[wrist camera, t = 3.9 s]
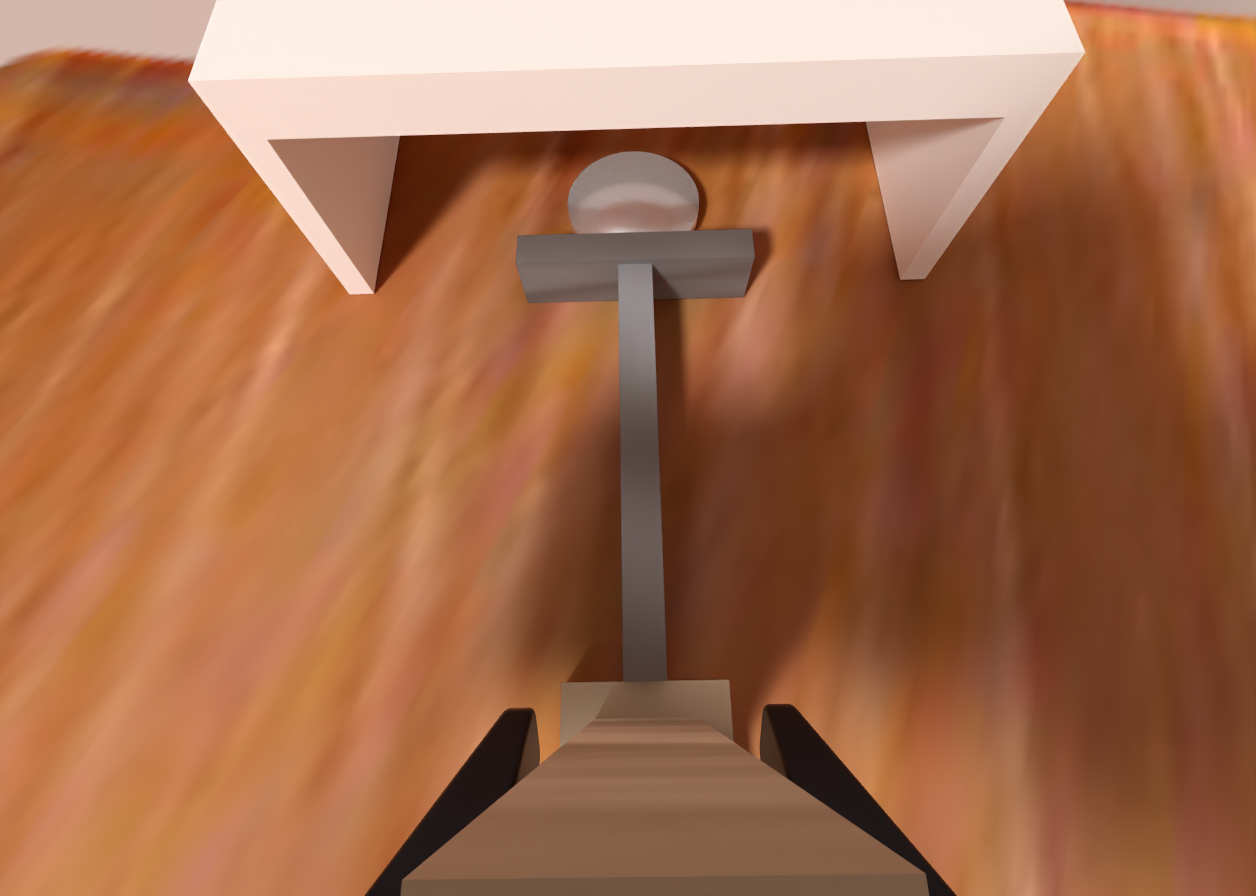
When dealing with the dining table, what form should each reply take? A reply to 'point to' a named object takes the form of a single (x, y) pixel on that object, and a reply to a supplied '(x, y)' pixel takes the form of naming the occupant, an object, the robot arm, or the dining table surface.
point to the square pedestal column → (652, 677)
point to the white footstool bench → (627, 90)
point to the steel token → (633, 196)
